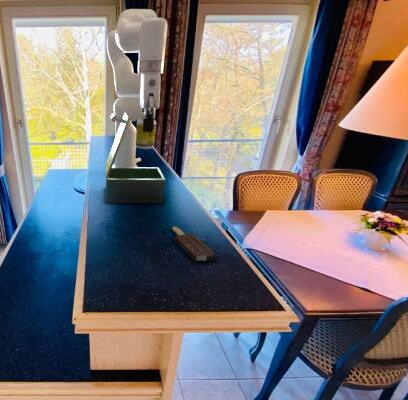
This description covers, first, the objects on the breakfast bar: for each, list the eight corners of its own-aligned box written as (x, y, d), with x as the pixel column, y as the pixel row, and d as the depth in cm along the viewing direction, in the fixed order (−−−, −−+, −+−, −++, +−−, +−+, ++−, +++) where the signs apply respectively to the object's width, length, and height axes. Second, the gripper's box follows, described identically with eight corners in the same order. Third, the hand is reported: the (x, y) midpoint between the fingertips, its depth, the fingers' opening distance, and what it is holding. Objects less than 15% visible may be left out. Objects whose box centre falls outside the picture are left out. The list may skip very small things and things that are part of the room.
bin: (156, 189, 103) (158, 167, 99) (163, 203, 91) (165, 179, 87) (106, 188, 103) (106, 167, 99) (106, 203, 92) (106, 179, 88)
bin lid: (127, 112, 91) (112, 107, 90) (130, 118, 79) (114, 112, 79) (107, 166, 99) (94, 162, 98) (107, 178, 88) (92, 173, 87)
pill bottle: (150, 150, 85) (153, 114, 80) (132, 147, 88) (134, 113, 83) (156, 146, 90) (160, 112, 85) (139, 143, 93) (142, 111, 88)
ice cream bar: (165, 231, 75) (196, 264, 62) (165, 226, 74) (197, 258, 61) (181, 228, 76) (215, 260, 63) (182, 223, 76) (217, 254, 63)
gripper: (169, 67, 71) (162, 135, 79) (157, 68, 86) (153, 124, 94) (141, 67, 71) (137, 135, 79) (134, 68, 87) (132, 124, 94)
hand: (146, 129), depth 86 cm, fingers closed on pill bottle, 6 cm apart
